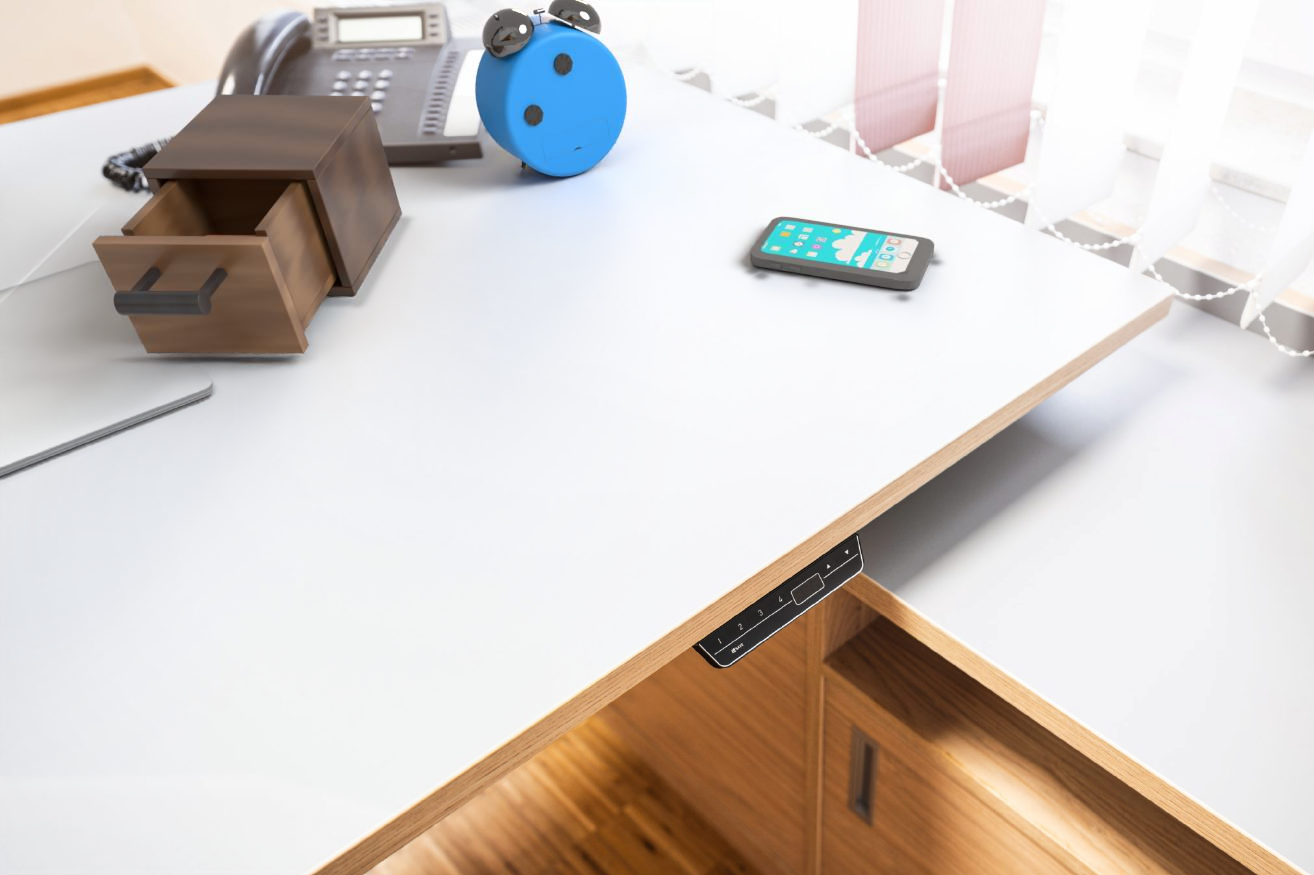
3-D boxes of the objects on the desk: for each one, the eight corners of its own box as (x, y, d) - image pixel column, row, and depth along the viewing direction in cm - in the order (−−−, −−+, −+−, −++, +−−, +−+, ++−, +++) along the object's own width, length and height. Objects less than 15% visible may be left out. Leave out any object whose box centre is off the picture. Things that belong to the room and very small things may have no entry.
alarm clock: (603, 140, 108) (583, -19, 98) (637, 160, 105) (619, -2, 95) (489, 174, 102) (454, 8, 92) (521, 196, 99) (488, 27, 88)
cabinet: (355, 296, 85) (313, 169, 78) (197, 295, 85) (140, 168, 77) (402, 213, 96) (369, 95, 88) (262, 212, 95) (217, 94, 88)
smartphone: (917, 282, 87) (745, 255, 89) (916, 293, 87) (745, 265, 90) (937, 236, 93) (776, 211, 95) (936, 246, 93) (776, 222, 96)
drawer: (280, 393, 74) (233, 281, 68) (116, 393, 74) (54, 281, 67) (357, 264, 87) (324, 161, 81) (218, 263, 87) (174, 159, 81)
